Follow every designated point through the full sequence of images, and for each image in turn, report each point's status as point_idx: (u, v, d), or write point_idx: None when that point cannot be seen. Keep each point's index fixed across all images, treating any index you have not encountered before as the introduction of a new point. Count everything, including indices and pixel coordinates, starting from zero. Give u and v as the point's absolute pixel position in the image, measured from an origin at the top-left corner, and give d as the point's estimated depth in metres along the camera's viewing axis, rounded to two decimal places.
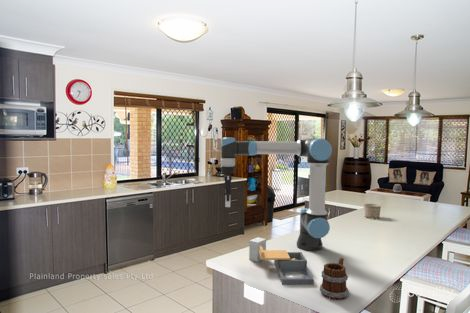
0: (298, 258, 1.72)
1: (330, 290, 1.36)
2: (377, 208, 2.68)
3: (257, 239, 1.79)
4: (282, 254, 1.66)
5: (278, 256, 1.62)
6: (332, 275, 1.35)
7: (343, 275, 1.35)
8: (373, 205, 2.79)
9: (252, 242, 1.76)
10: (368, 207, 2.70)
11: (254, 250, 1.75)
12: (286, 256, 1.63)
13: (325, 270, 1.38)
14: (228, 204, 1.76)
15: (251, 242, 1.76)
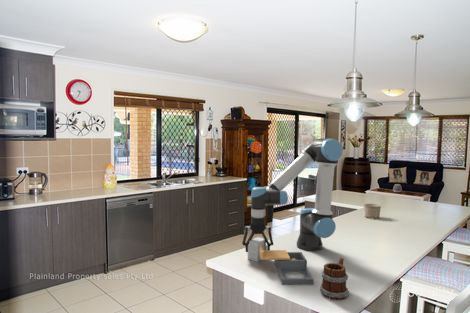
0: (298, 258, 1.72)
1: (330, 290, 1.36)
2: (377, 208, 2.68)
3: (257, 239, 1.79)
4: (282, 254, 1.66)
5: (278, 256, 1.62)
6: (332, 275, 1.35)
7: (343, 275, 1.35)
8: (373, 205, 2.79)
9: (252, 242, 1.76)
10: (368, 207, 2.70)
11: (254, 250, 1.75)
12: (286, 256, 1.63)
13: (325, 270, 1.38)
14: None
15: (251, 242, 1.76)
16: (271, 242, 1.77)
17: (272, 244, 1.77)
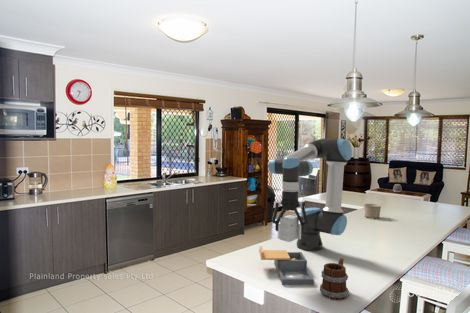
0: (298, 258, 1.72)
1: (330, 290, 1.36)
2: (377, 208, 2.68)
3: (289, 216, 1.57)
4: (282, 254, 1.66)
5: (278, 256, 1.62)
6: (332, 275, 1.35)
7: (343, 275, 1.35)
8: (373, 205, 2.79)
9: (283, 219, 1.54)
10: (368, 207, 2.70)
11: (286, 228, 1.53)
12: (286, 256, 1.63)
13: (325, 270, 1.38)
14: (277, 235, 1.56)
15: (282, 219, 1.54)
16: (305, 220, 1.55)
17: (306, 222, 1.55)
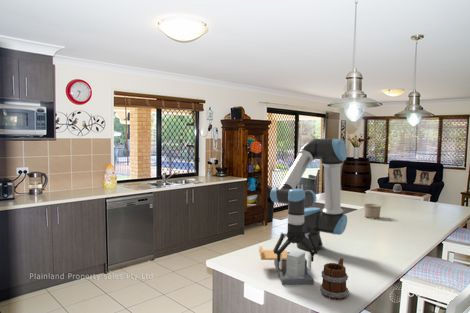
0: None
1: (330, 290, 1.36)
2: (377, 208, 2.68)
3: (295, 253, 1.55)
4: (282, 254, 1.66)
5: None
6: (332, 275, 1.35)
7: (343, 275, 1.35)
8: (373, 205, 2.79)
9: (290, 256, 1.52)
10: (368, 207, 2.70)
11: (293, 266, 1.51)
12: (286, 256, 1.63)
13: (325, 270, 1.38)
14: (279, 265, 1.54)
15: (289, 256, 1.52)
16: (315, 250, 1.53)
17: (316, 252, 1.53)
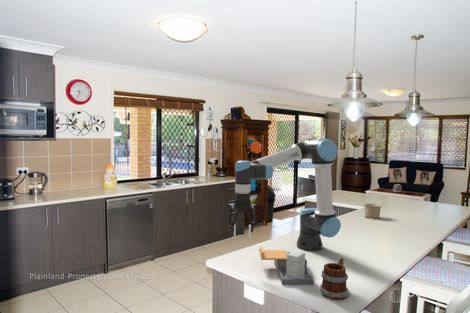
0: None
1: (330, 291, 1.36)
2: (377, 208, 2.68)
3: (295, 253, 1.55)
4: (282, 254, 1.66)
5: (278, 256, 1.62)
6: (332, 275, 1.35)
7: (343, 275, 1.35)
8: (373, 205, 2.79)
9: (290, 256, 1.52)
10: (368, 207, 2.70)
11: (293, 266, 1.51)
12: (286, 256, 1.63)
13: (325, 270, 1.38)
14: None
15: (289, 256, 1.52)
16: (255, 221, 1.64)
17: (255, 223, 1.64)
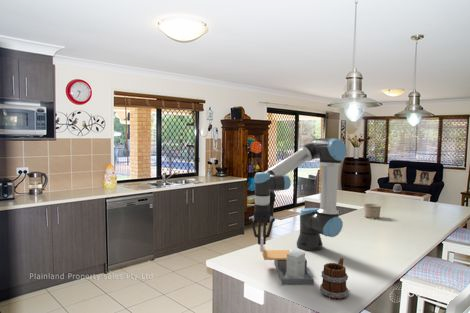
0: None
1: (330, 290, 1.36)
2: (377, 208, 2.68)
3: (295, 253, 1.55)
4: (285, 254, 1.66)
5: (281, 256, 1.62)
6: (332, 275, 1.35)
7: (343, 275, 1.35)
8: (373, 205, 2.79)
9: (290, 256, 1.52)
10: (368, 207, 2.70)
11: (293, 266, 1.51)
12: None
13: (325, 270, 1.38)
14: (260, 248, 1.66)
15: (289, 256, 1.52)
16: (268, 233, 1.65)
17: (268, 236, 1.64)
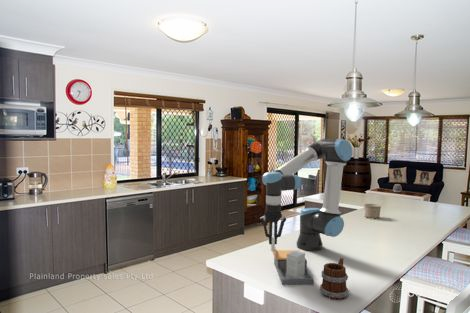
0: None
1: (330, 290, 1.36)
2: (377, 208, 2.68)
3: (295, 253, 1.55)
4: None
5: None
6: (332, 275, 1.35)
7: (343, 275, 1.35)
8: (373, 205, 2.79)
9: (290, 256, 1.52)
10: (368, 207, 2.70)
11: (293, 266, 1.51)
12: None
13: (325, 270, 1.38)
14: (271, 248, 1.66)
15: (289, 256, 1.52)
16: (279, 233, 1.65)
17: (279, 236, 1.65)
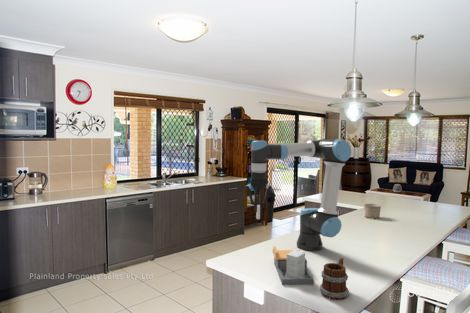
0: None
1: (330, 291, 1.36)
2: (377, 208, 2.68)
3: (295, 253, 1.55)
4: None
5: None
6: (332, 275, 1.35)
7: (343, 275, 1.35)
8: (373, 205, 2.79)
9: (290, 256, 1.52)
10: (368, 207, 2.70)
11: (293, 266, 1.51)
12: None
13: (325, 270, 1.38)
14: (256, 215, 1.67)
15: (289, 256, 1.52)
16: (264, 201, 1.66)
17: (264, 203, 1.66)
